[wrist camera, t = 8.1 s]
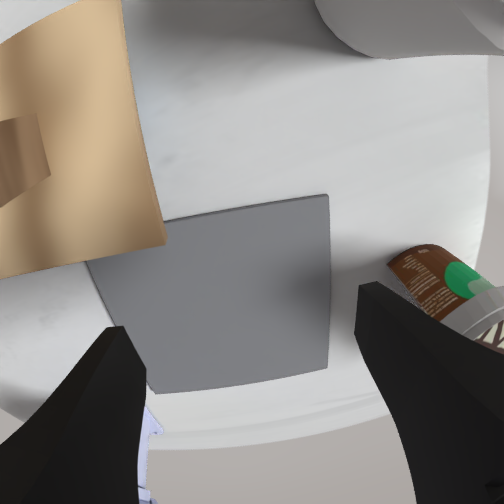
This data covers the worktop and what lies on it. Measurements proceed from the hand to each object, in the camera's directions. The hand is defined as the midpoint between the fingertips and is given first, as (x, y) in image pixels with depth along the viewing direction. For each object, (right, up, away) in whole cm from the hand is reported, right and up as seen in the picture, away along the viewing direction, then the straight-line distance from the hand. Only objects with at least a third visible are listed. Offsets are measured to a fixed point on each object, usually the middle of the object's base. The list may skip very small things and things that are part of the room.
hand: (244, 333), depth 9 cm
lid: (-10, +7, +2) cm, 13 cm away
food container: (+16, +1, +14) cm, 21 cm away
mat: (-2, -2, +13) cm, 13 cm away
